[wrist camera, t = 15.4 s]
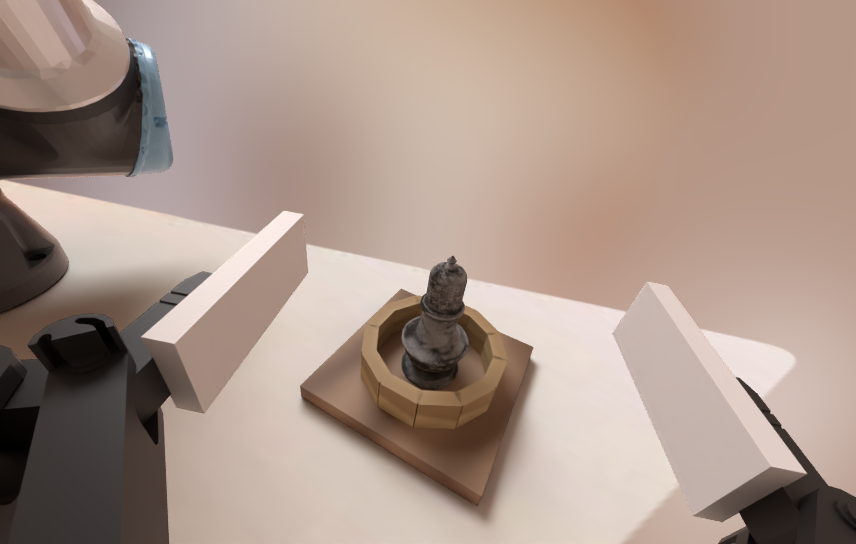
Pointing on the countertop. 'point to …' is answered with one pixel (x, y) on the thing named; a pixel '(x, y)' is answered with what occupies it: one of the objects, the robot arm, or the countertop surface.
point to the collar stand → (425, 396)
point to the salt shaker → (437, 330)
